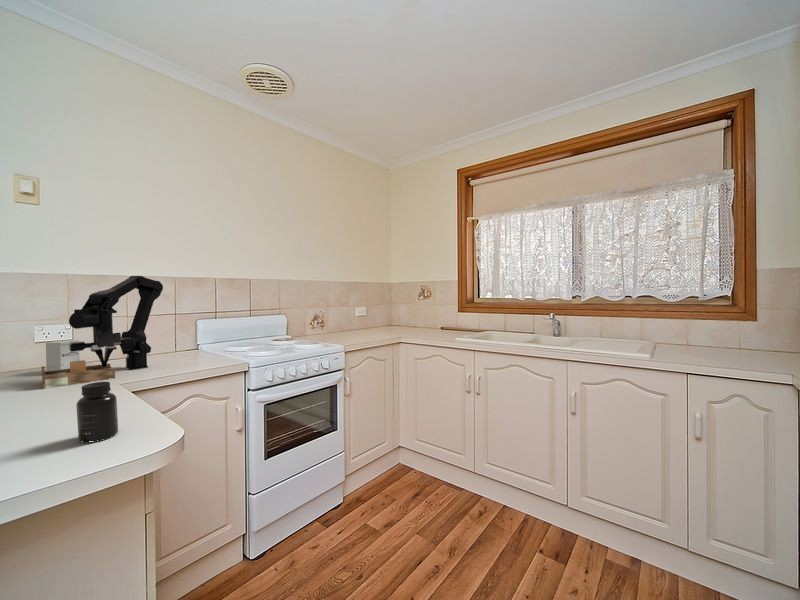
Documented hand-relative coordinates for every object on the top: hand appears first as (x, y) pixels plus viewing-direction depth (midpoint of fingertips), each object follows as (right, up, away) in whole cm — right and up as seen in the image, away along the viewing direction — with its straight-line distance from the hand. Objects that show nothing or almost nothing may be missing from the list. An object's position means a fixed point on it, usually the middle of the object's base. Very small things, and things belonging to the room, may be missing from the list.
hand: (104, 366), depth 134 cm
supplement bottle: (+45, -6, -55) cm, 72 cm away
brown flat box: (-5, -4, -5) cm, 8 cm away
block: (-5, -1, -5) cm, 7 cm away
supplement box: (-24, -4, +9) cm, 26 cm away
